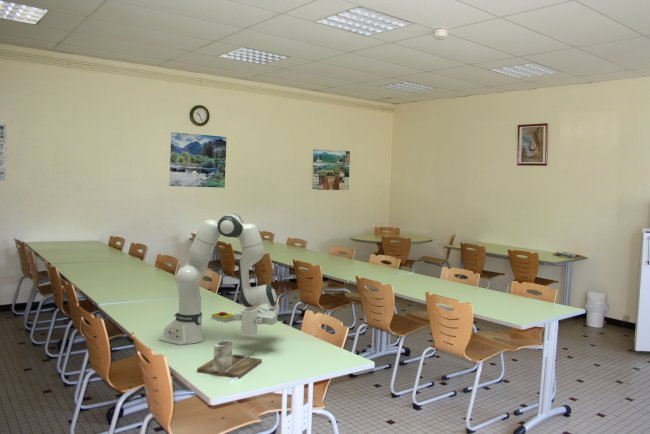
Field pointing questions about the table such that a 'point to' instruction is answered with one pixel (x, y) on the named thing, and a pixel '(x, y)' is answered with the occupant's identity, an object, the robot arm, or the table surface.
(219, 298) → the table surface
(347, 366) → the table surface
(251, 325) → the grey module block
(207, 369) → the rail board
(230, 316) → the emergency button
